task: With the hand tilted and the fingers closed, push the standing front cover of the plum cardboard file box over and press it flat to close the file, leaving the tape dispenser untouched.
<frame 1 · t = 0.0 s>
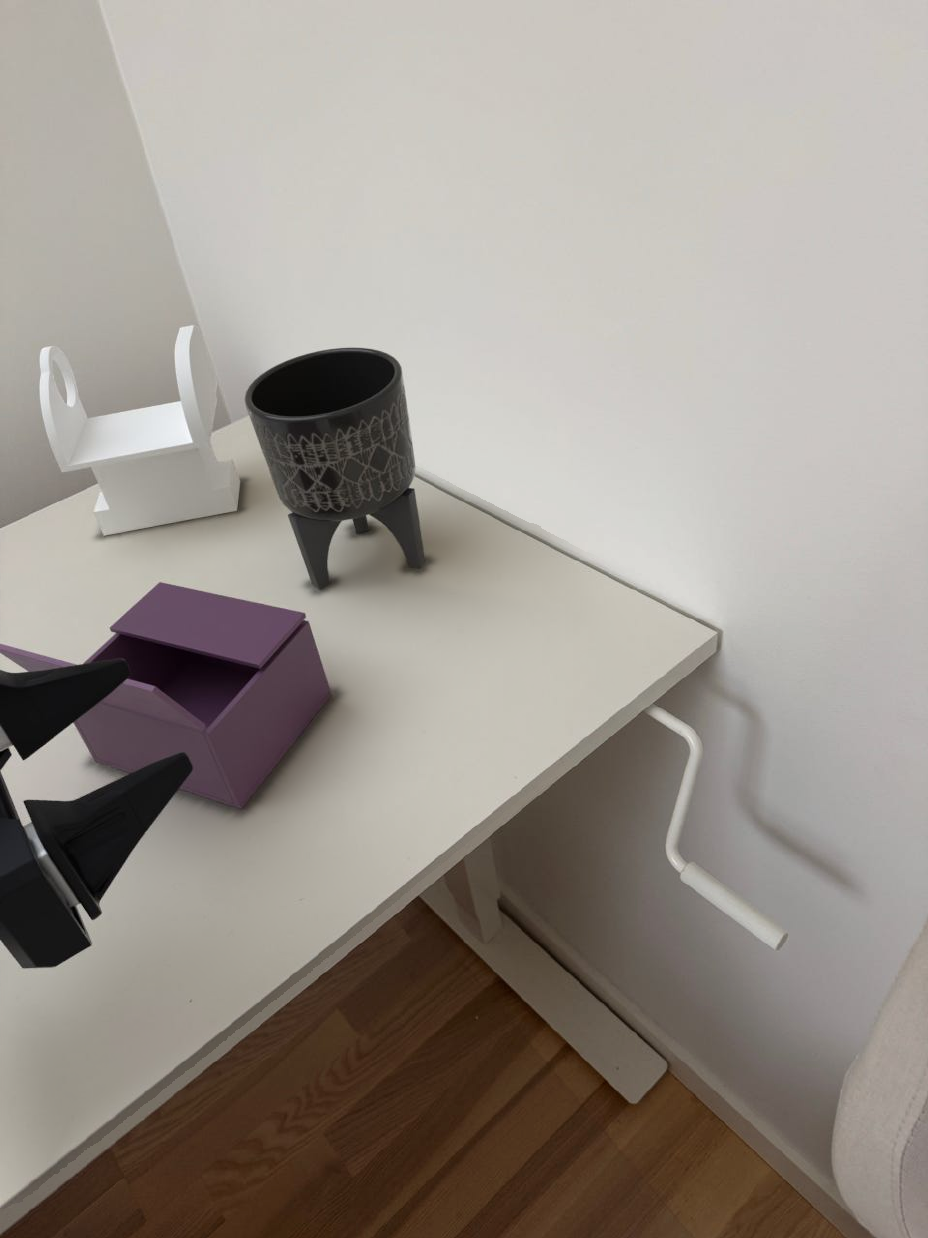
hand: (156, 709, 49), 18 cm above the table, tool horizontal, fingers open, 9 cm apart
file box: (214, 727, 73), on the table
planter: (367, 560, 88), on the table
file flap: (97, 685, 62), point 11 cm above the table, hinge at 112.0°
tape dispenser: (175, 506, 101), on the table
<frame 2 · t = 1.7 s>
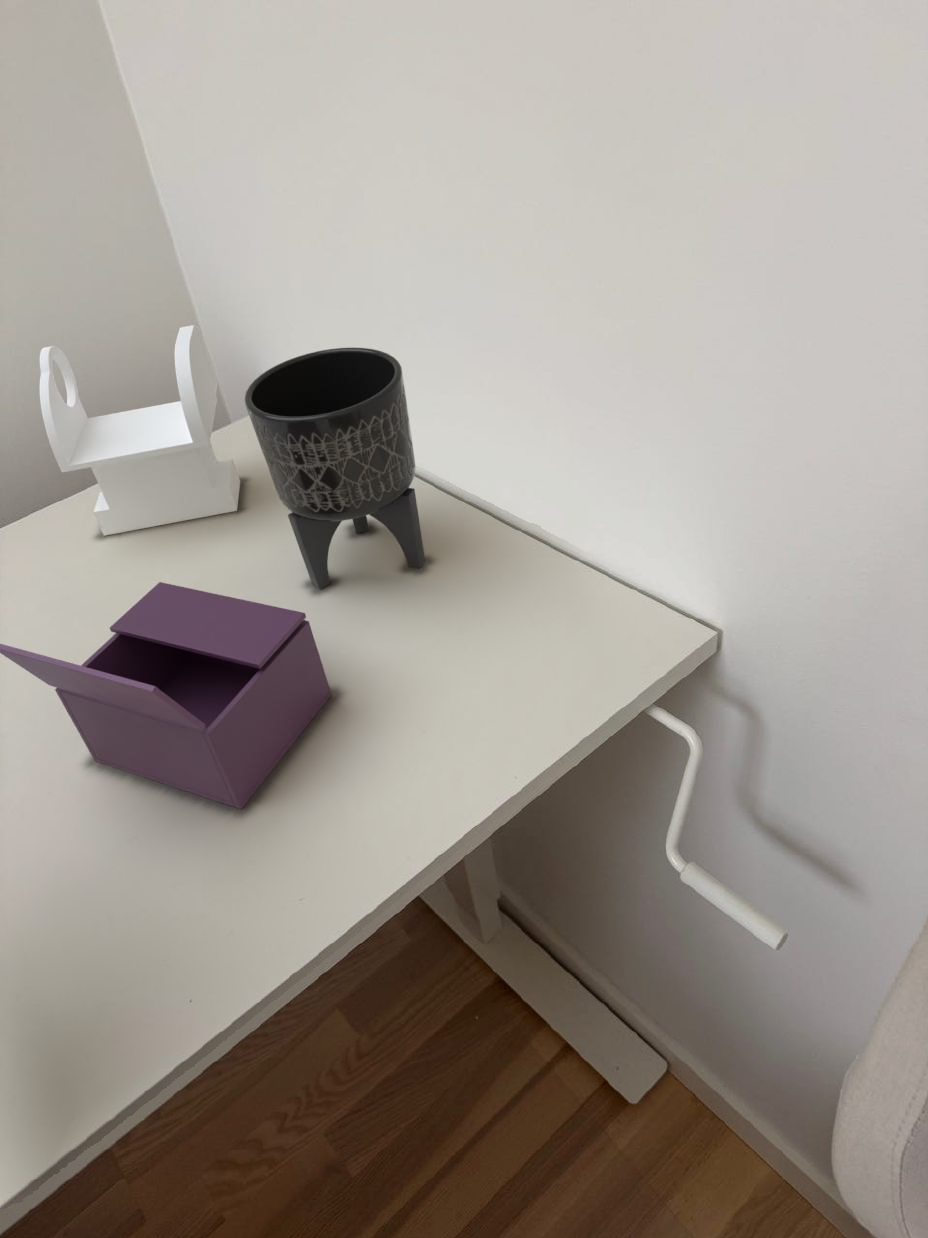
nothing on the table moved.
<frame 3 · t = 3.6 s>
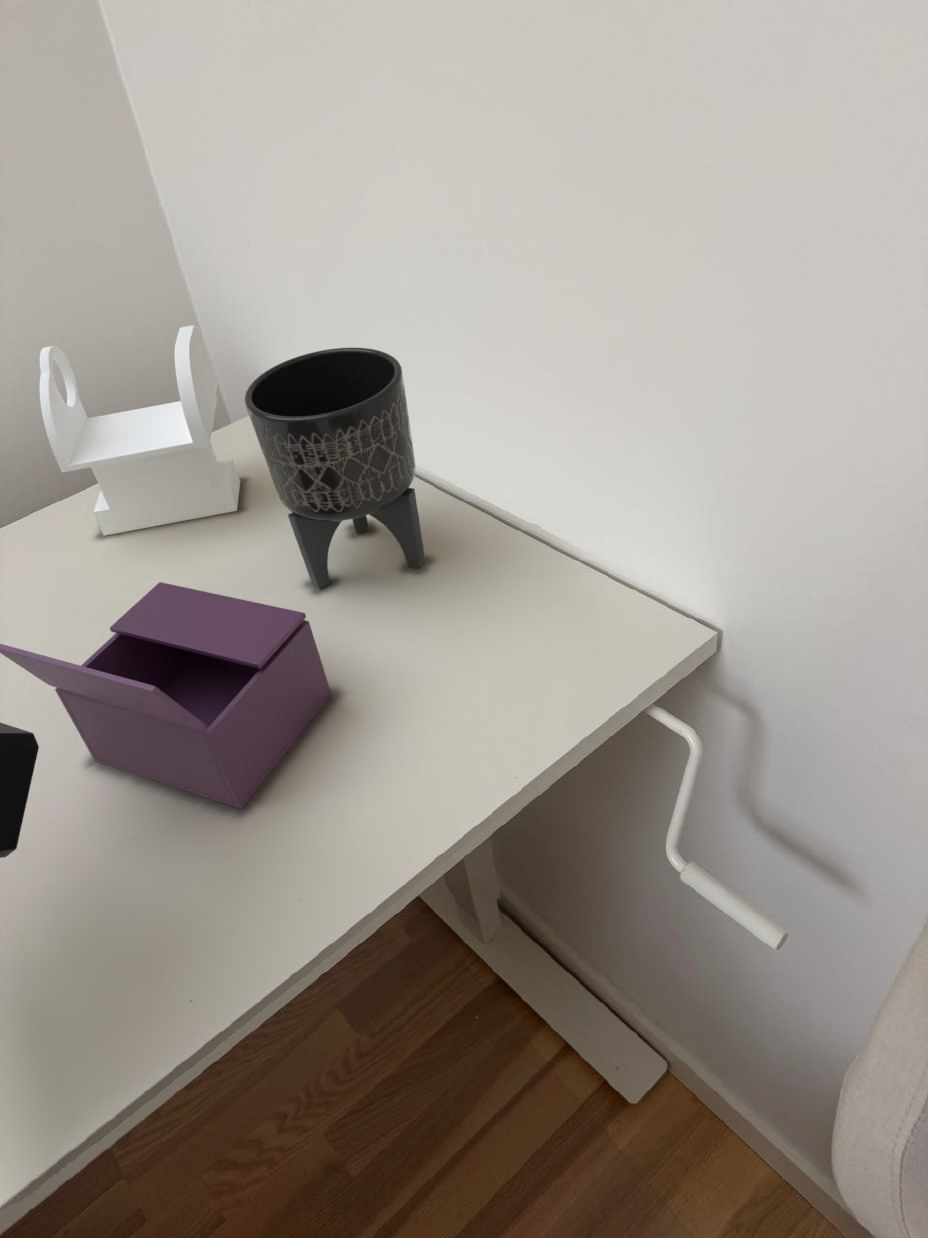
hand: (19, 749, 57), 12 cm above the table, tool tilted 45°, fingers closed
nothing on the table moved.
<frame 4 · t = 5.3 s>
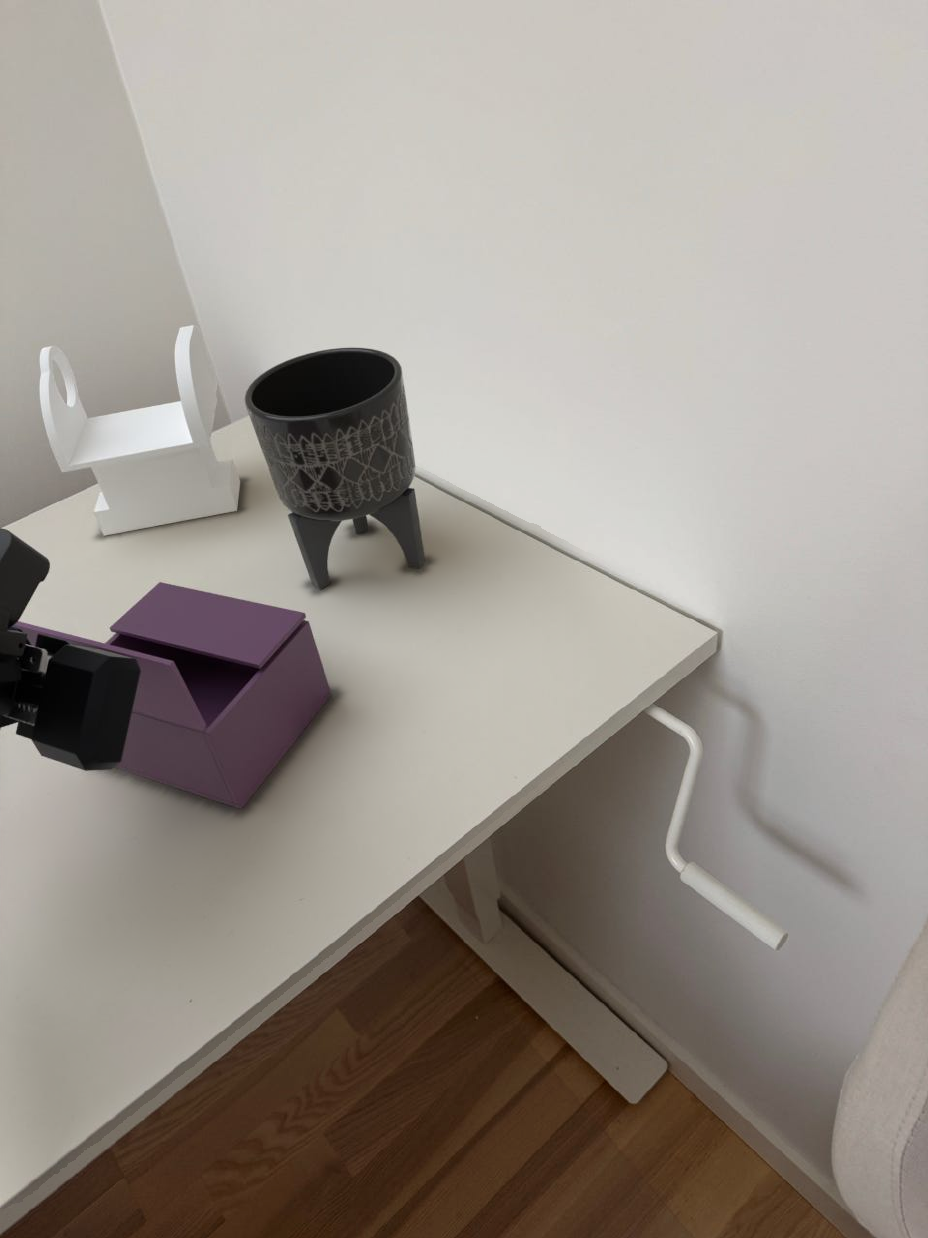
hand: (105, 686, 62), 10 cm above the table, tool tilted 45°, fingers closed, pressing on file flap
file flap: (106, 673, 62), point 11 cm above the table, hinge at 93.0°, touching gripper
everything else where it was.
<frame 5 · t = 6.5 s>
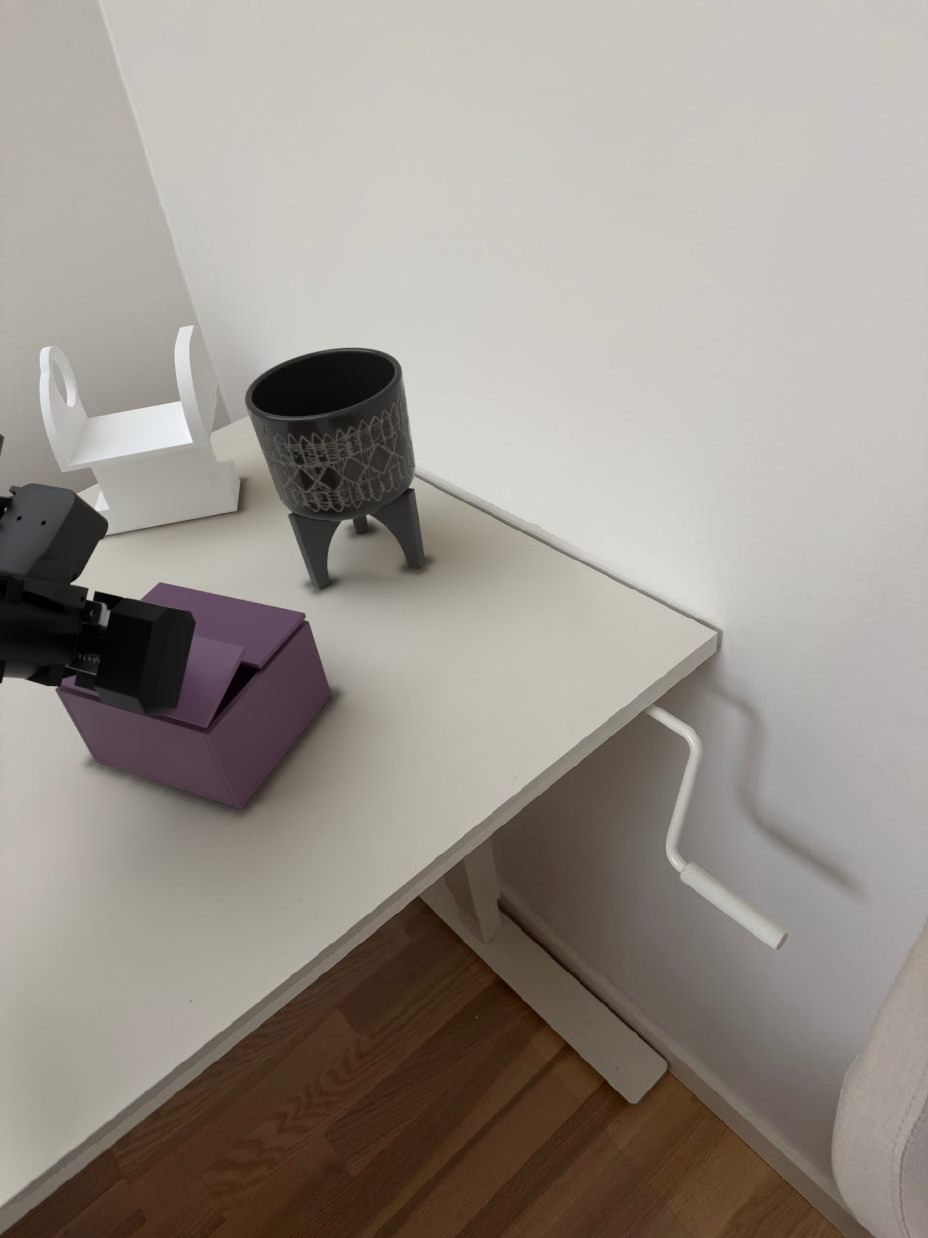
hand: (153, 644, 66), 10 cm above the table, tool tilted 45°, fingers closed
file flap: (146, 665, 65), point 9 cm above the table, hinge at 21.6°
everything else where it was.
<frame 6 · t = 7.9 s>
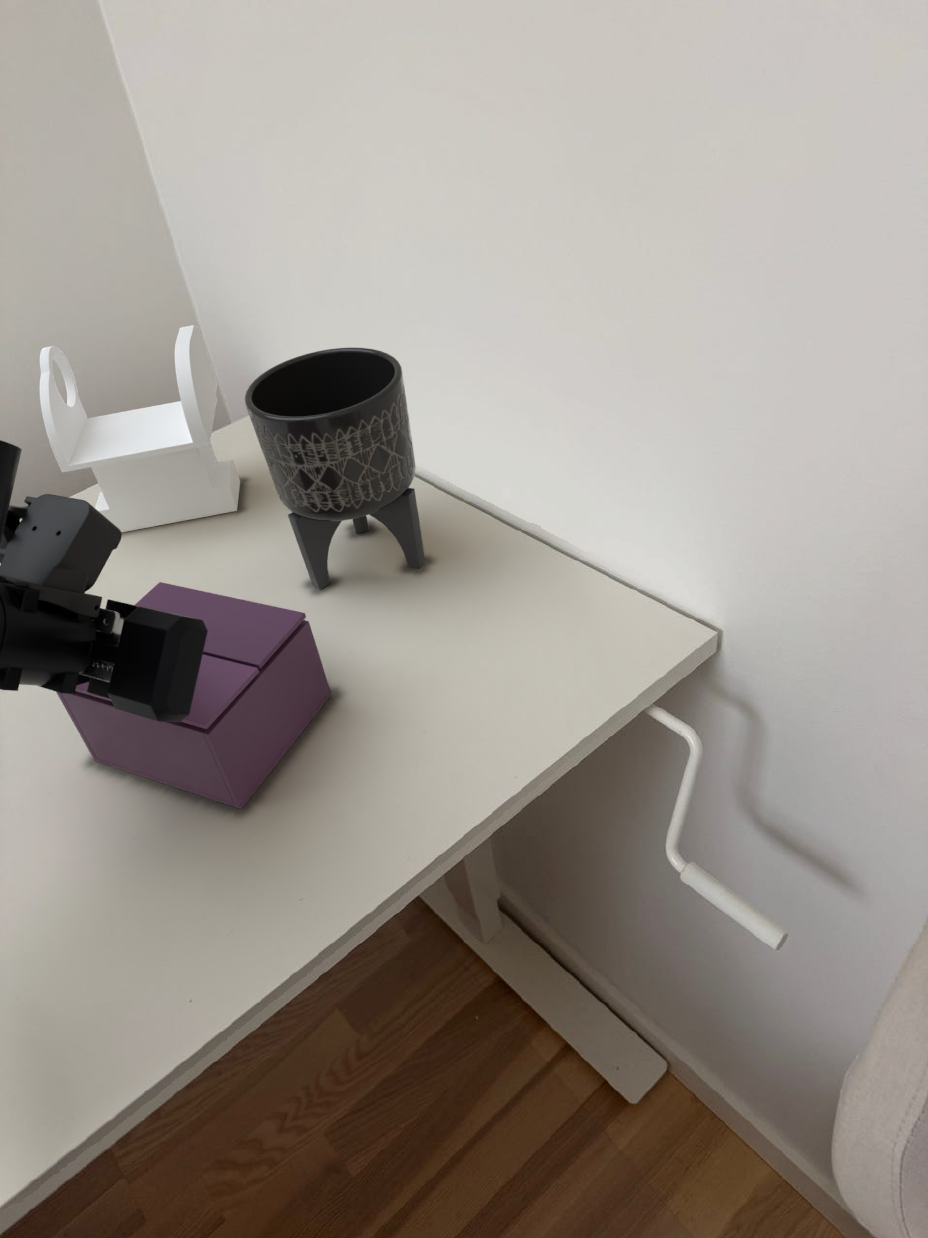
hand: (164, 652, 67), 9 cm above the table, tool tilted 45°, fingers closed
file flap: (154, 676, 66), point 8 cm above the table, hinge at -1.3°
everything else where it was.
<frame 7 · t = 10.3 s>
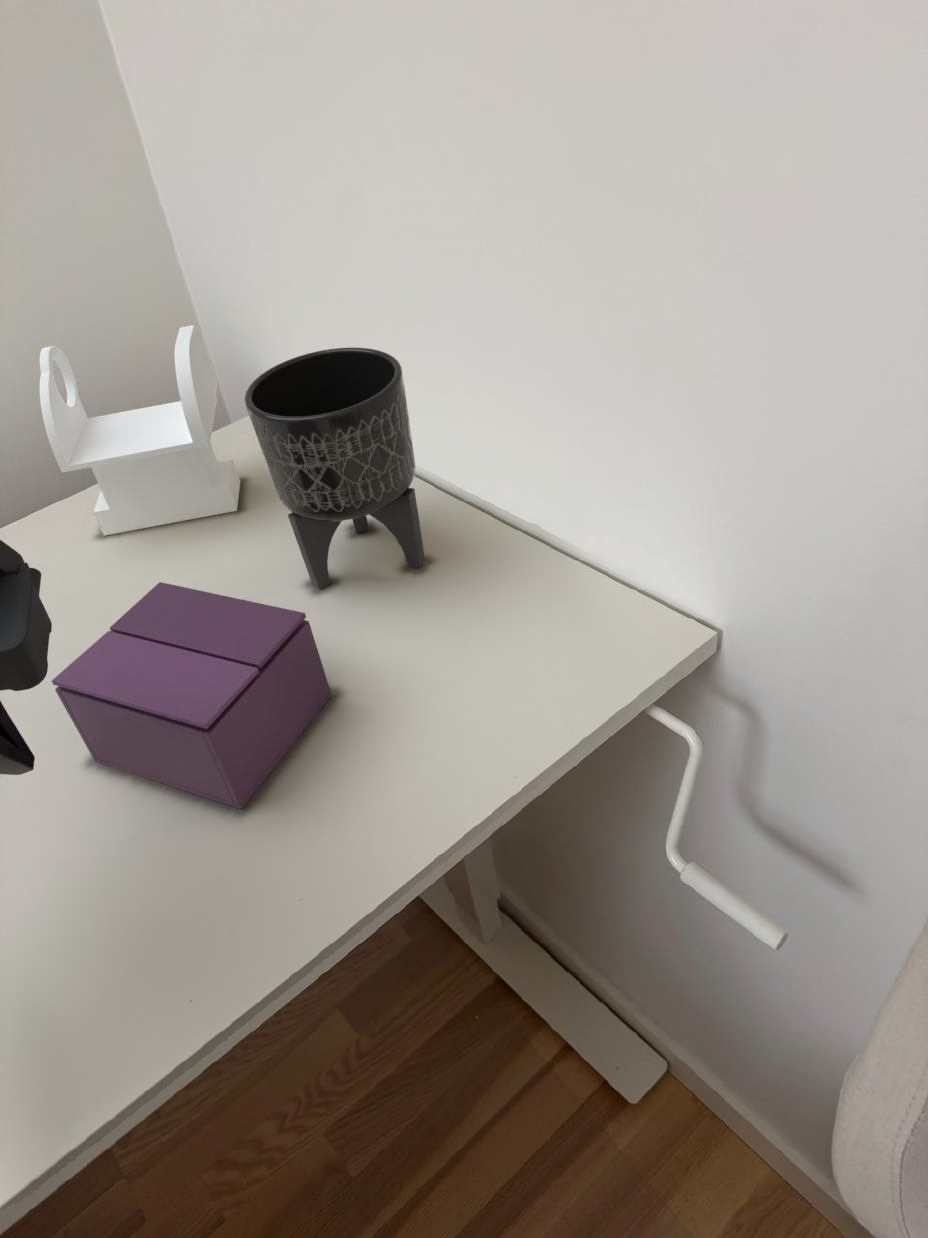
hand: (27, 766, 55), 12 cm above the table, tool tilted 20°, fingers closed
nothing on the table moved.
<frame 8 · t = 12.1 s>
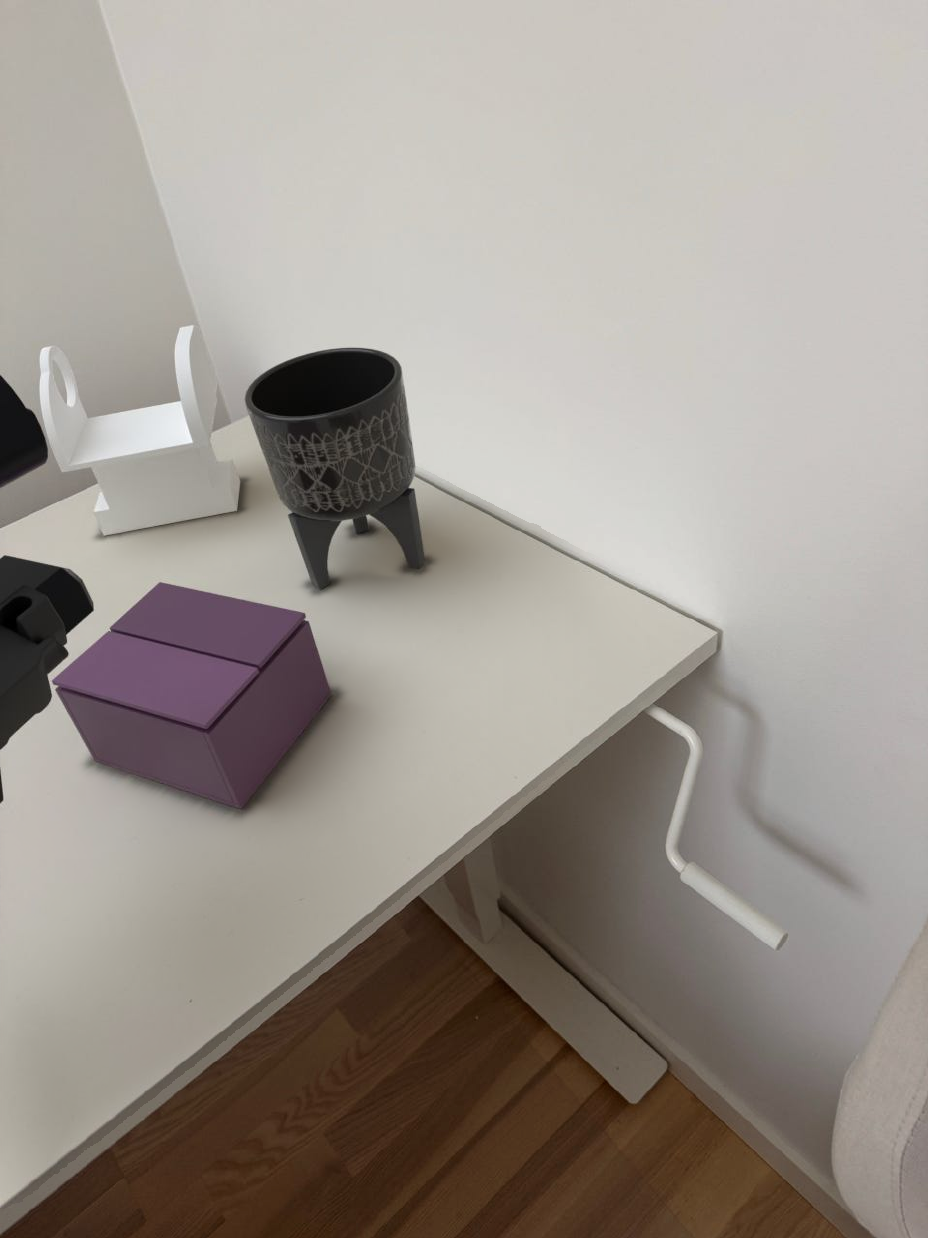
nothing on the table moved.
at the end: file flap at -1° (first picture: +112°); tape dispenser moved 0.2 cm from its start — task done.
